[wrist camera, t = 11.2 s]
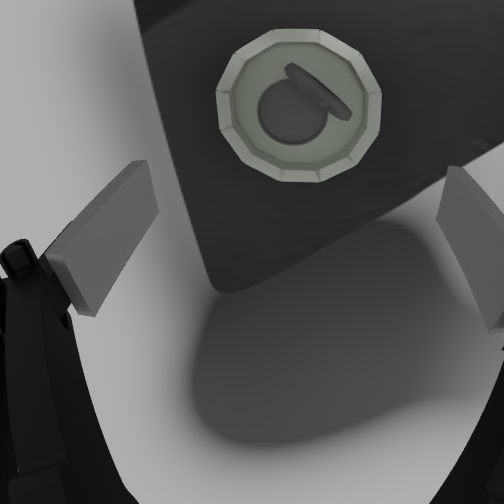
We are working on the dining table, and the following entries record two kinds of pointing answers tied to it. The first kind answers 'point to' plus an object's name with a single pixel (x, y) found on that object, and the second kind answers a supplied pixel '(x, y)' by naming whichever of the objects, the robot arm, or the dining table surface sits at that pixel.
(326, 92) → the pocket watch
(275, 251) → the dining table surface
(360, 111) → the dish
